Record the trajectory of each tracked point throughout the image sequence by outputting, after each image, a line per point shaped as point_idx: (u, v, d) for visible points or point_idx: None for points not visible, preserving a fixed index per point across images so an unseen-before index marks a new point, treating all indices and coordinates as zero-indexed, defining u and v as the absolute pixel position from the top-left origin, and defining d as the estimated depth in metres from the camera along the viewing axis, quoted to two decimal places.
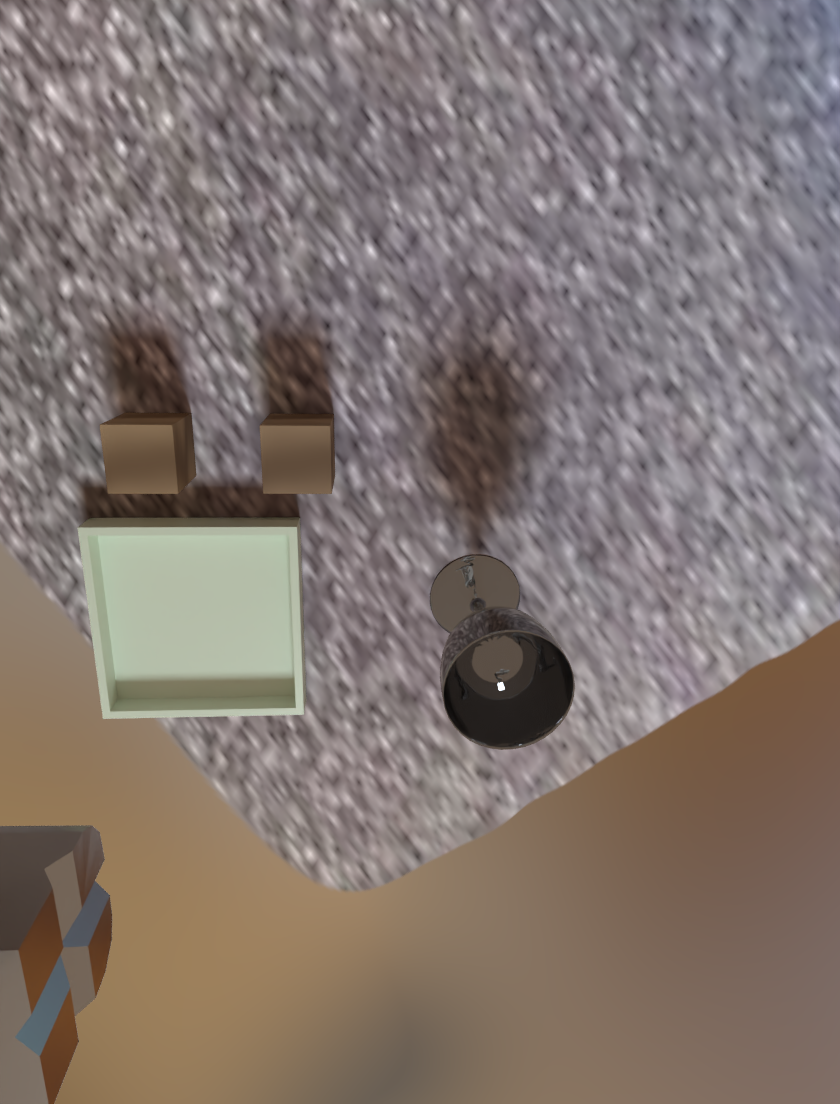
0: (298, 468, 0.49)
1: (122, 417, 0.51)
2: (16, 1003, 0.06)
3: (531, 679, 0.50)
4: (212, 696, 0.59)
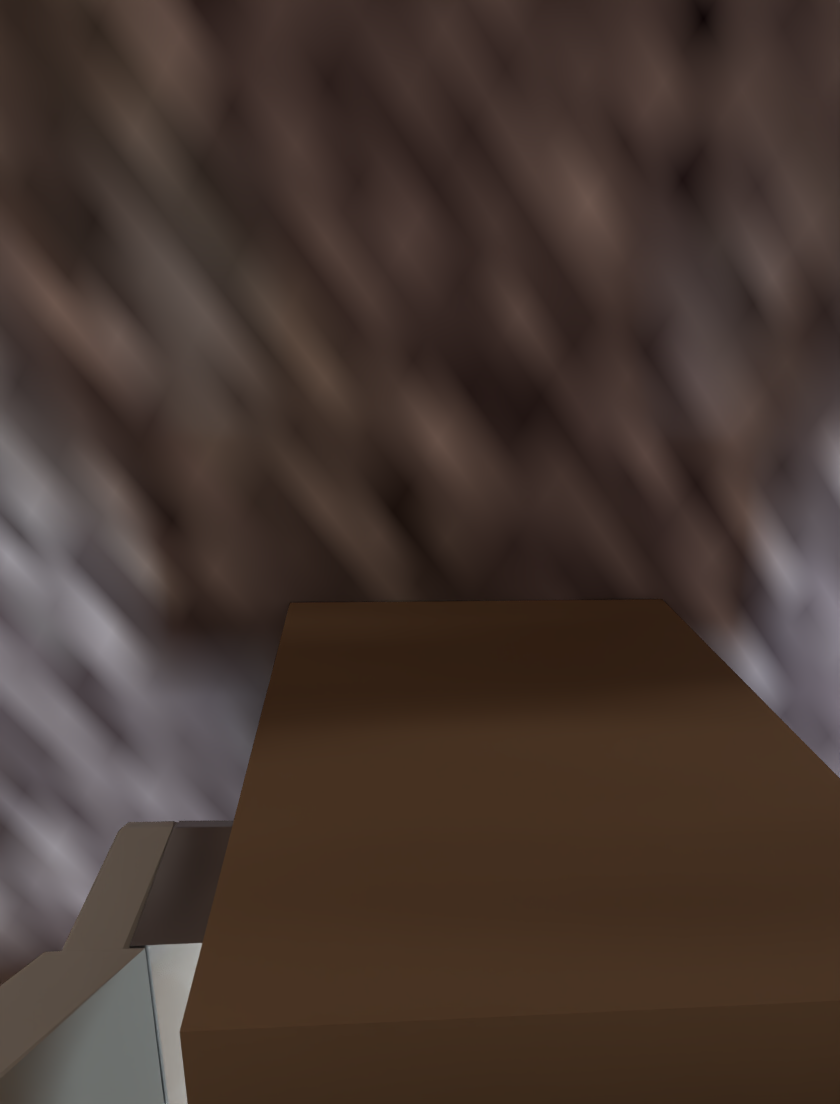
0: None
1: None
2: None
3: None
4: None
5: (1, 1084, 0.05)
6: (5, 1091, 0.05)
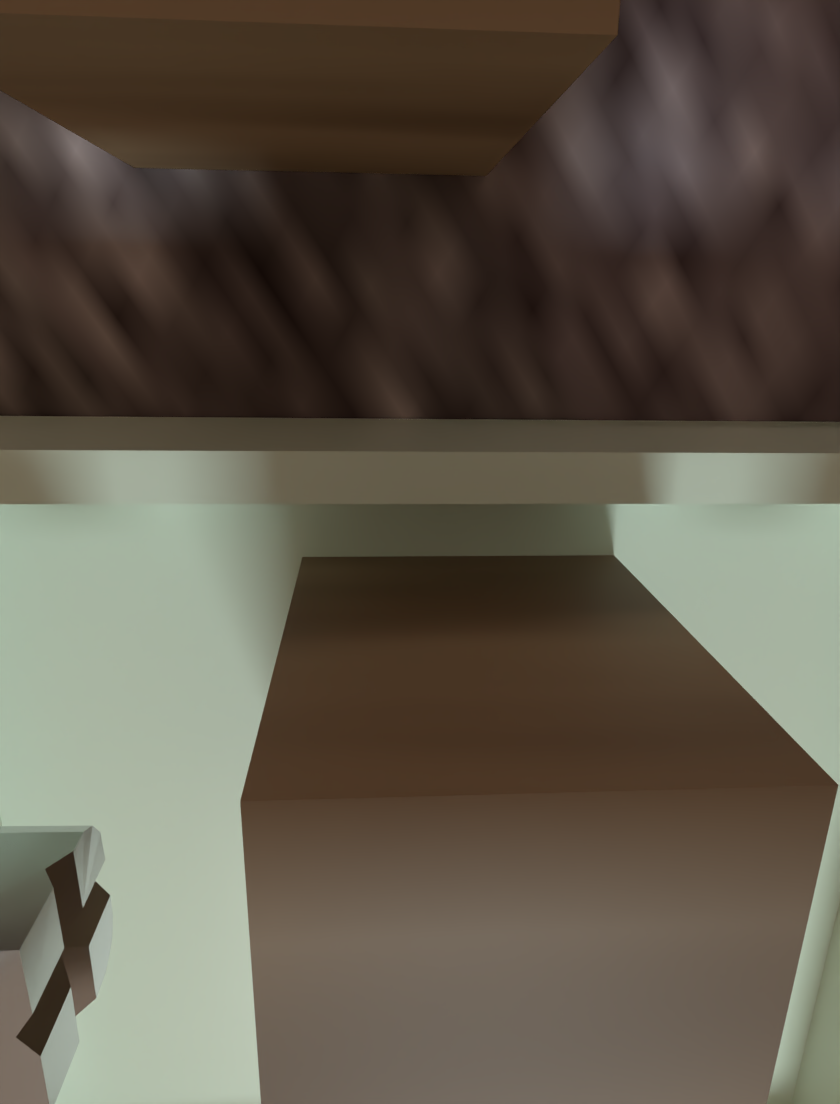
0: (536, 1065, 0.06)
1: None
2: (17, 1004, 0.06)
3: None
4: None
5: None
6: None
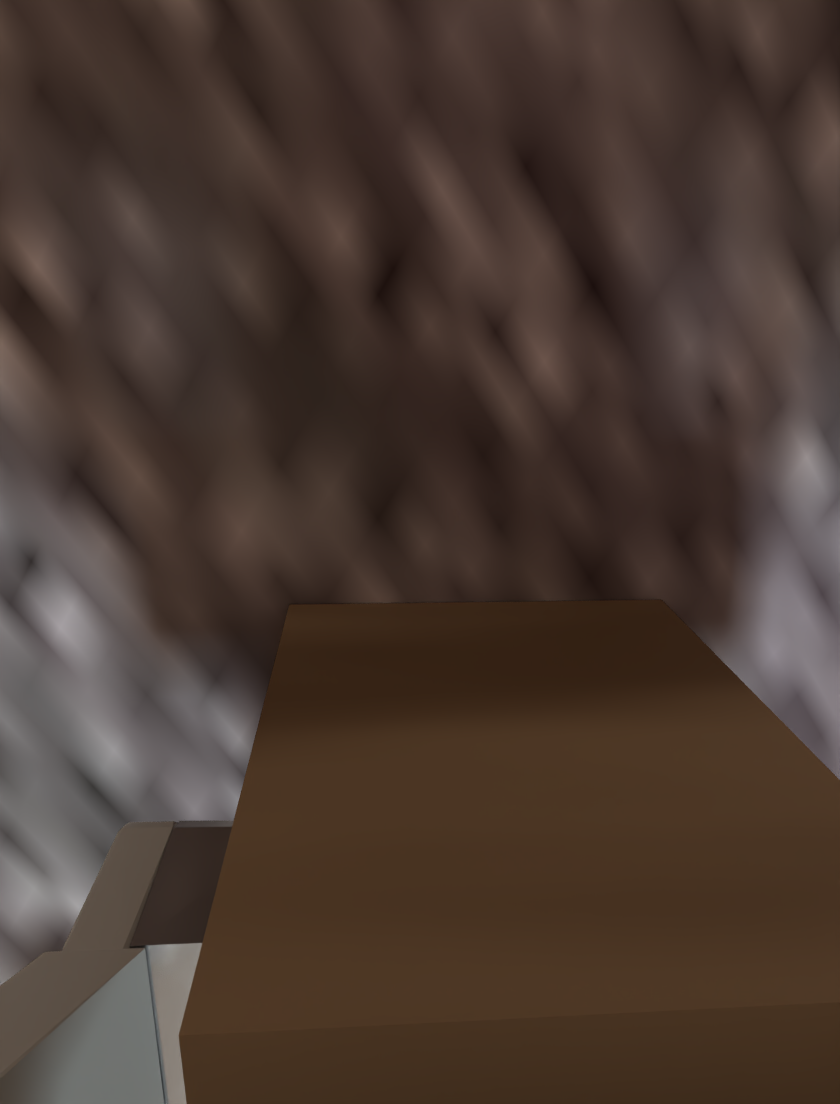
0: None
1: (316, 708, 0.07)
2: None
3: None
4: None
5: (1, 1084, 0.05)
6: (5, 1091, 0.05)
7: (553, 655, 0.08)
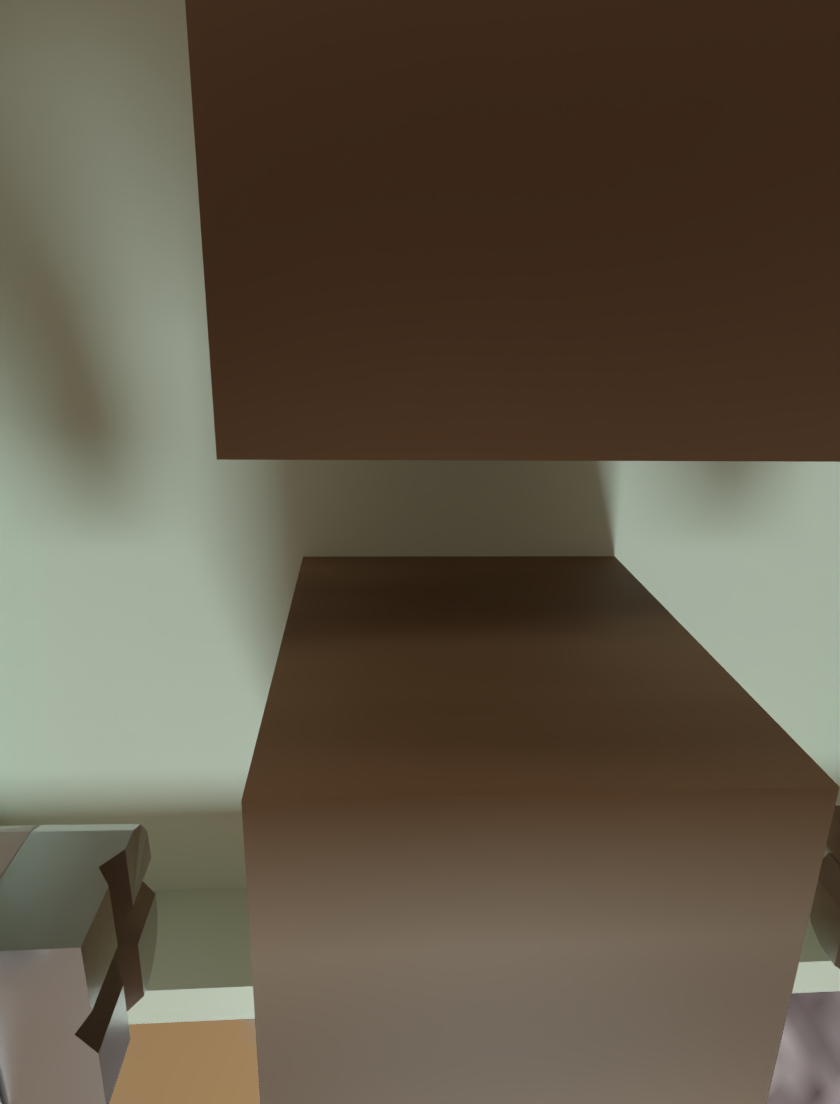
0: (617, 158, 0.04)
1: (328, 625, 0.08)
2: (76, 1000, 0.06)
3: None
4: None
5: None
6: None
7: (519, 593, 0.09)
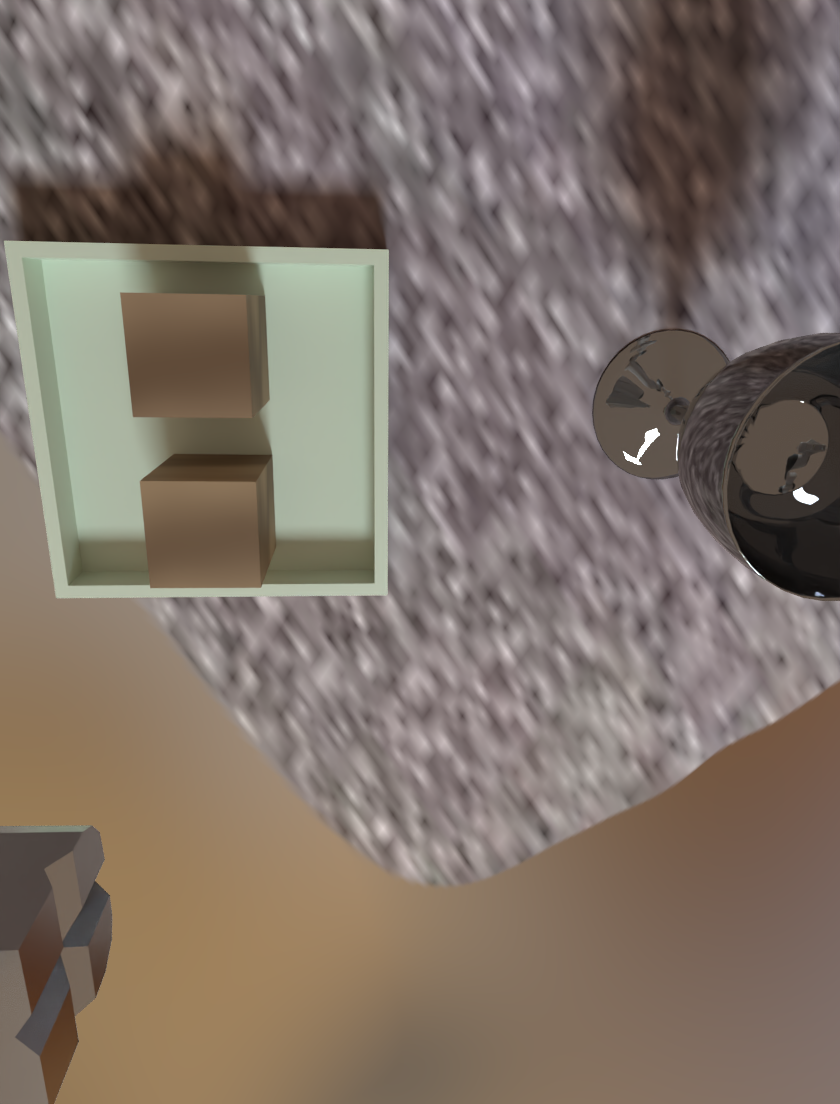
0: (192, 371, 0.28)
1: (171, 464, 0.32)
2: (15, 1004, 0.06)
3: (830, 495, 0.27)
4: None
5: None
6: None
7: (230, 460, 0.33)
